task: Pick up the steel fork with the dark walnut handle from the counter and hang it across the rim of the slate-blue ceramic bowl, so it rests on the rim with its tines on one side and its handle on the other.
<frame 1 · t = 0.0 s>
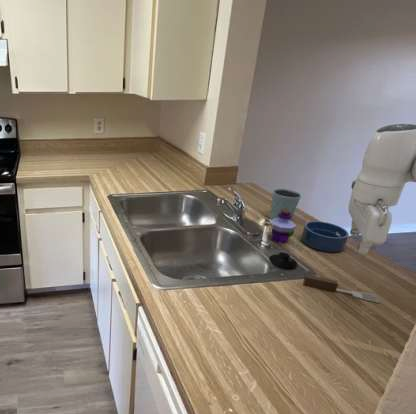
hand: (357, 243, 85), 18 cm above the worktop, tool pointing down, fingers open, 8 cm apart
fork: (334, 290, 96), on the worktop
potion bottle: (278, 240, 124), on the worktop
bowl: (321, 243, 121), on the worktop
grey-green tapered cup: (280, 219, 140), on the worktop
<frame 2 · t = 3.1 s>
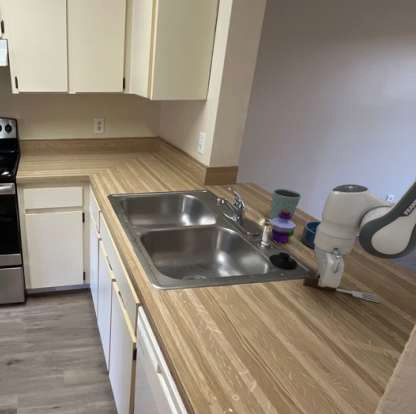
hand: (320, 282, 97), 2 cm above the worktop, tool pointing down, fingers closed on fork, 2 cm apart
fork: (334, 290, 96), on the worktop, touching gripper
everything else where it was.
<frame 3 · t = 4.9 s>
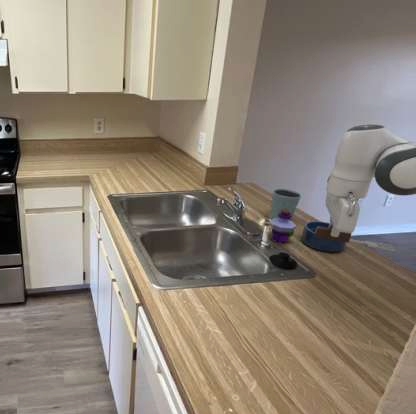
hand: (332, 233, 93), 17 cm above the worktop, tool pointing down, fingers closed on fork
fork: (348, 241, 92), point 15 cm above the worktop, touching gripper
everything else where it was.
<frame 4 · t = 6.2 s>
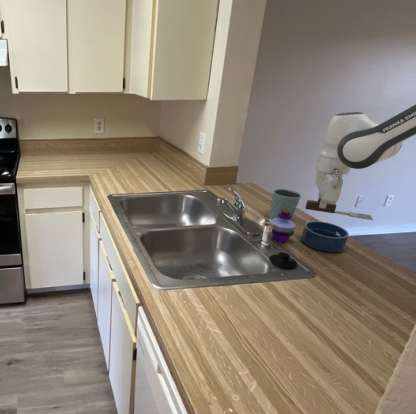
hand: (321, 205, 109), 18 cm above the worktop, tool pointing down, fingers closed on fork
fork: (333, 212, 108), point 16 cm above the worktop, touching gripper
everything else where it was.
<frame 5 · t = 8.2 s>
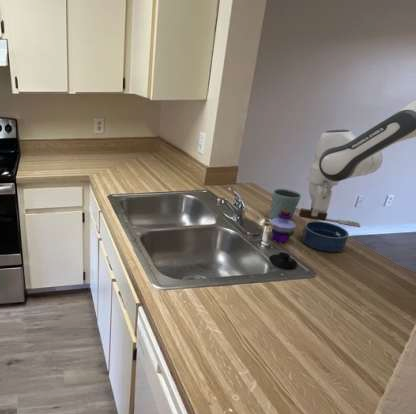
hand: (313, 213, 118), 11 cm above the worktop, tool pointing down, fingers closed on fork
fork: (324, 220, 117), point 9 cm above the worktop, touching gripper
everything else where it was.
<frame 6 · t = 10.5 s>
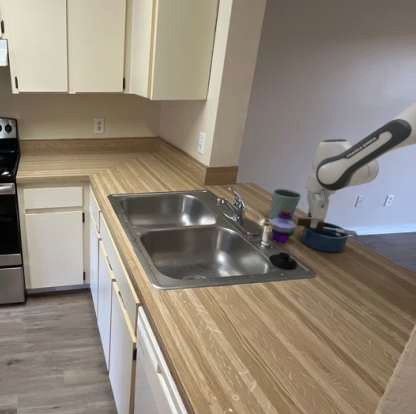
hand: (311, 221, 120), 8 cm above the worktop, tool pointing down, fingers open, 8 cm apart
fork: (322, 228, 119), point 6 cm above the worktop, touching bowl
everything else where it was.
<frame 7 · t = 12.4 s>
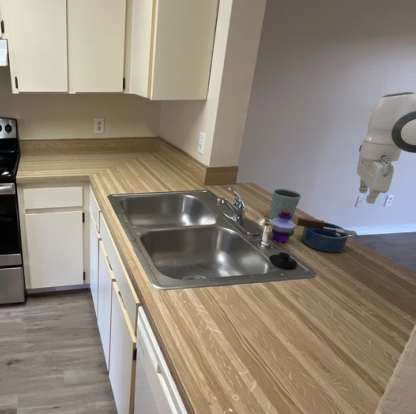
hand: (365, 197, 100), 23 cm above the worktop, tool pointing down, fingers open, 8 cm apart
nothing on the worktop moved.
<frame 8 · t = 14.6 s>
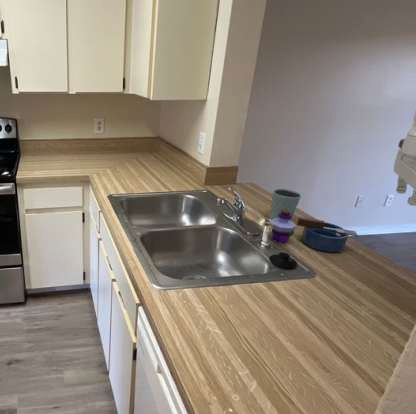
hand: (405, 198, 89), 27 cm above the worktop, tool pointing down, fingers open, 8 cm apart
nothing on the worktop moved.
at the end: fork 0.1 cm from the target spot on the bowl, point 6.0 cm above the bowl's base; fork touching bowl; the gripper is holding nothing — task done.
